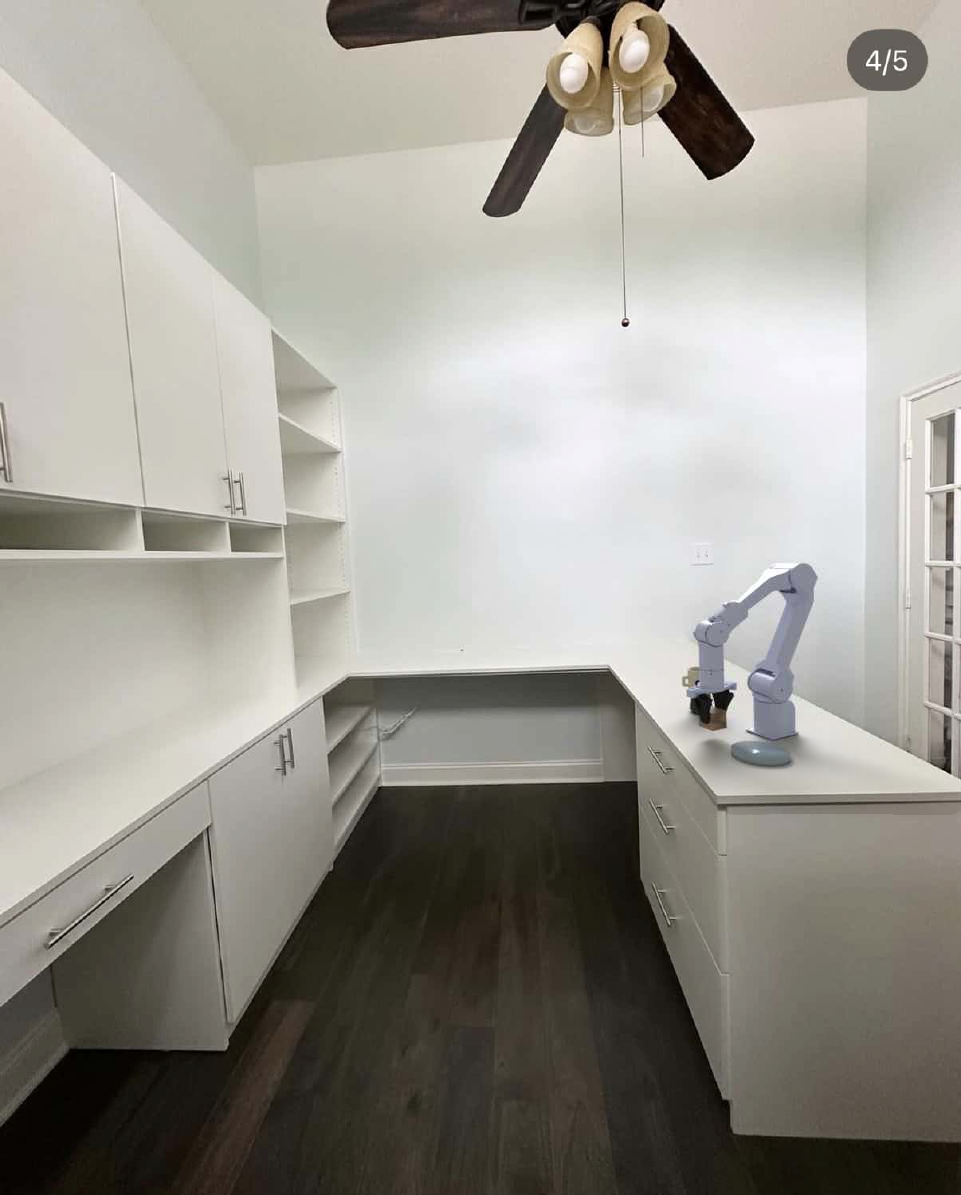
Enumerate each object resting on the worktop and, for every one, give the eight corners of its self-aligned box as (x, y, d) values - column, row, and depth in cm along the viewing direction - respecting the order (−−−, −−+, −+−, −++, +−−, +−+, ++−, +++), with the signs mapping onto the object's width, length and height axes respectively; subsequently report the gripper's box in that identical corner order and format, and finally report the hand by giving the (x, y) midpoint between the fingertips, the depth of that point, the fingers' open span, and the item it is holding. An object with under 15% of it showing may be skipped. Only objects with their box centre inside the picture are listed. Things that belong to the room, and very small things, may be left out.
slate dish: (756, 742, 123) (756, 737, 123) (803, 759, 112) (803, 754, 112) (719, 751, 119) (719, 746, 119) (763, 770, 108) (763, 765, 108)
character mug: (687, 717, 144) (686, 672, 143) (678, 709, 151) (677, 667, 150) (725, 715, 144) (724, 670, 143) (714, 707, 151) (713, 665, 150)
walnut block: (712, 722, 130) (712, 705, 130) (726, 728, 126) (726, 710, 126) (699, 725, 129) (698, 708, 128) (712, 731, 124) (712, 713, 124)
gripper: (720, 662, 132) (721, 712, 133) (677, 669, 127) (678, 721, 128) (743, 667, 126) (744, 719, 127) (698, 675, 121) (699, 729, 122)
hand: (712, 721), depth 127 cm, fingers closed on walnut block, 4 cm apart
